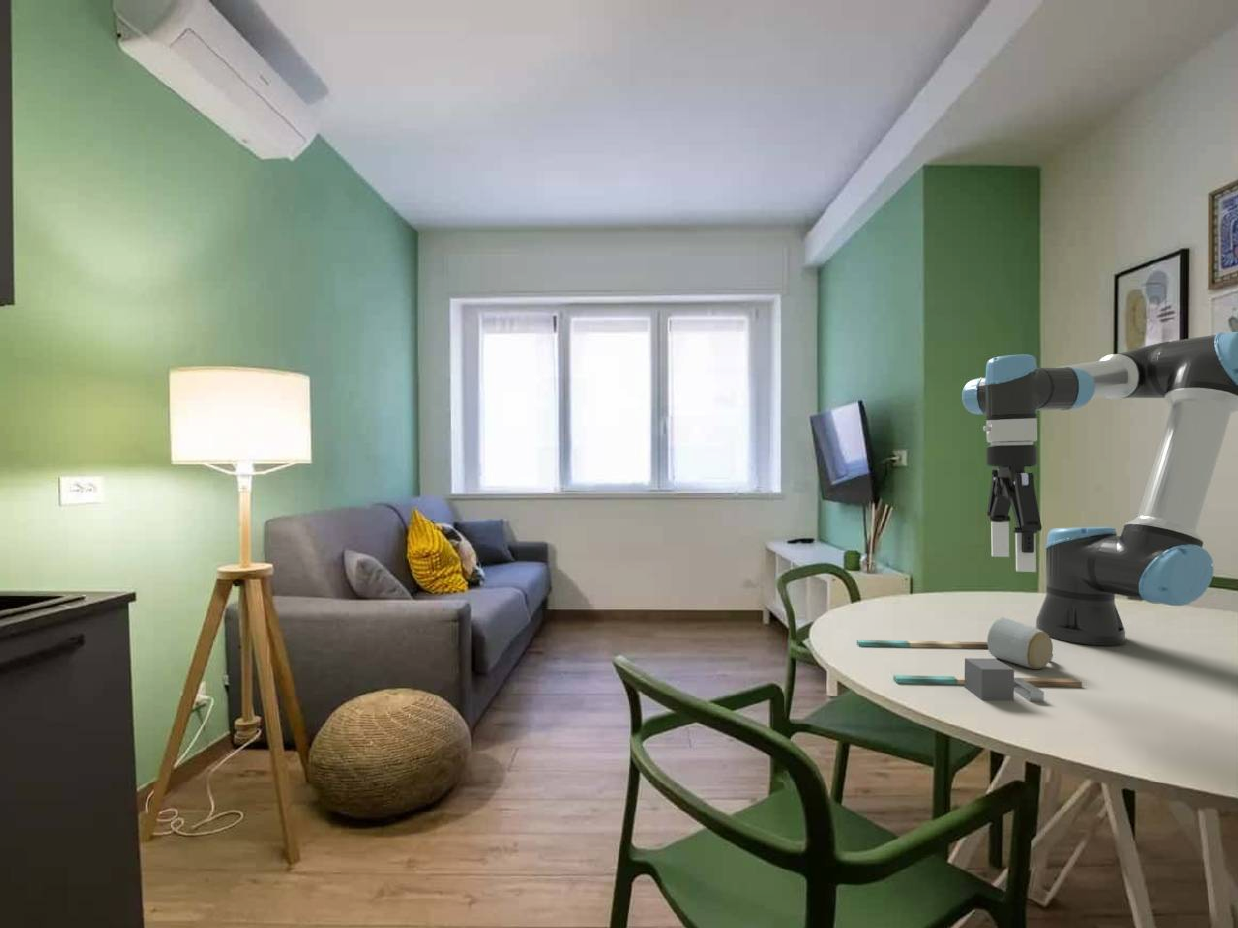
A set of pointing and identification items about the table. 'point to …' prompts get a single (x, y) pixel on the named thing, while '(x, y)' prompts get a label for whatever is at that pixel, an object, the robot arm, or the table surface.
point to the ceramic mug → (1019, 644)
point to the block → (989, 679)
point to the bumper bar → (1028, 690)
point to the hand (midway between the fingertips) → (1012, 563)
